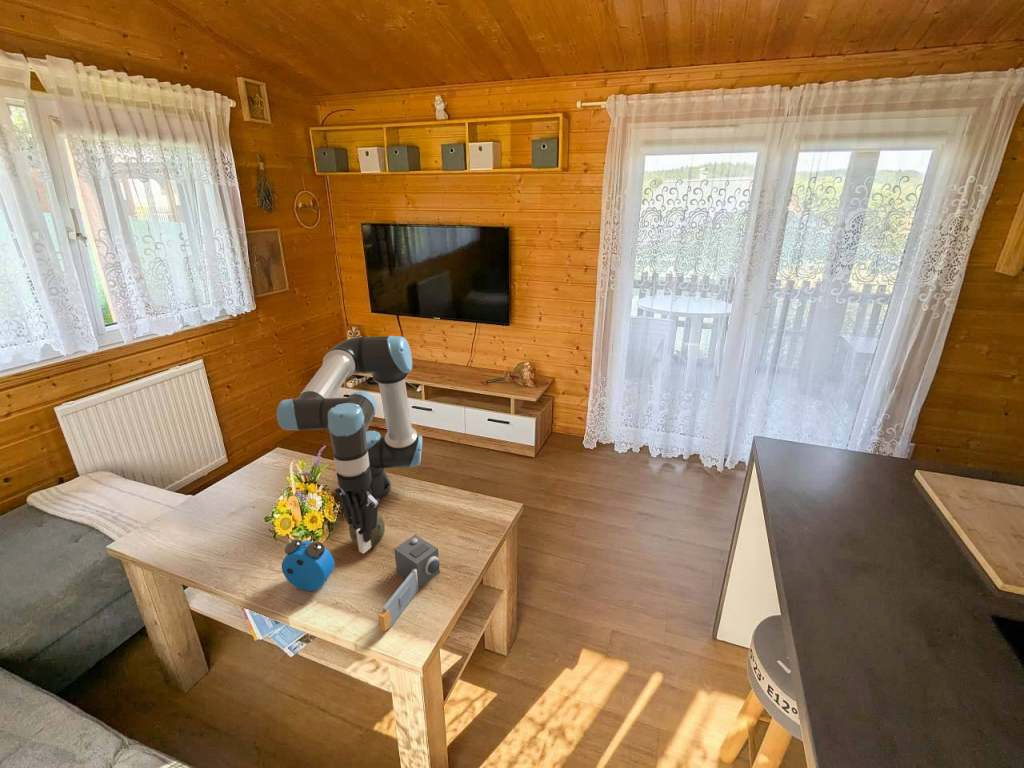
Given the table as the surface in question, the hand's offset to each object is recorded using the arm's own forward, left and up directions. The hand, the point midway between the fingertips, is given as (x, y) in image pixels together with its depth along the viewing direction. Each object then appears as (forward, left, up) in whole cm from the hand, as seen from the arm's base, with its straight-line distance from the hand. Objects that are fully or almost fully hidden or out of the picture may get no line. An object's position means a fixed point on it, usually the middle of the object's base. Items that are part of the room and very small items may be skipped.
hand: (365, 549), depth 120 cm
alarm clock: (-21, -12, -23) cm, 33 cm away
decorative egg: (-29, +7, -23) cm, 37 cm away
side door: (+2, +7, -22) cm, 23 cm away
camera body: (-9, +16, -22) cm, 29 cm away
